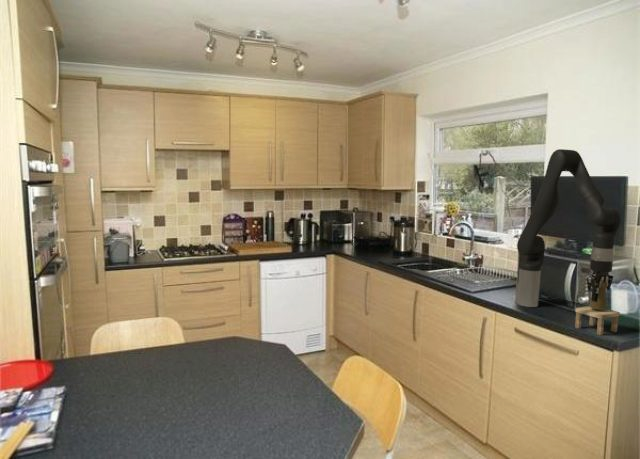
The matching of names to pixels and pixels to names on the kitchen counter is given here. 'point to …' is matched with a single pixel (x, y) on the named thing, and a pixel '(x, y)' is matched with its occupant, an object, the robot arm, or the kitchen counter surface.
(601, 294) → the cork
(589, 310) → the birch stool
